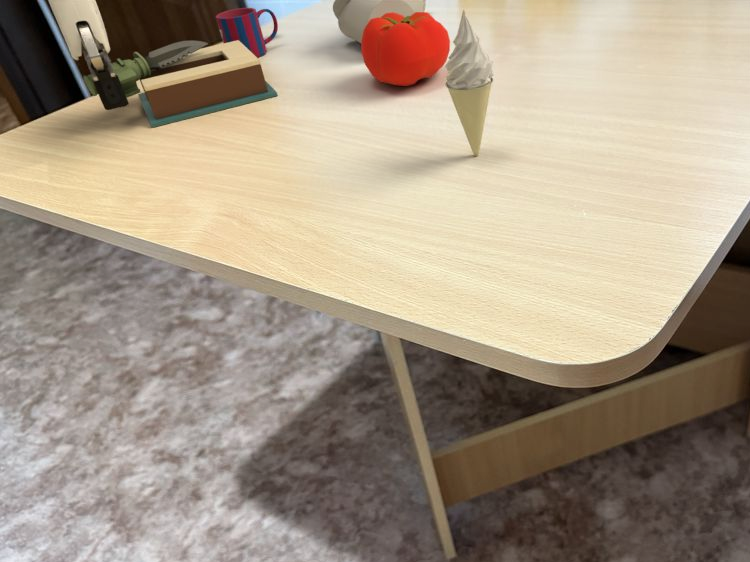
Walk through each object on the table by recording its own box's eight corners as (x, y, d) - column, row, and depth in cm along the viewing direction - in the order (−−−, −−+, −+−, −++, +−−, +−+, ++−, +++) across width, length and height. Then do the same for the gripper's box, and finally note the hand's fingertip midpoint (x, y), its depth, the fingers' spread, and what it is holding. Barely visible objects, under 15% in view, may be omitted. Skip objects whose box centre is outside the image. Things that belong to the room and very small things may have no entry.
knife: (74, 63, 94) (95, 88, 93) (196, 20, 102) (216, 43, 101) (81, 84, 97) (101, 109, 96) (198, 41, 105) (218, 64, 105)
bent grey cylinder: (315, 33, 121) (359, 56, 107) (314, -36, 116) (360, -20, 101) (406, 34, 129) (458, 56, 115) (409, -30, 124) (464, -15, 110)
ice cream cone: (484, 167, 74) (470, 17, 65) (445, 161, 76) (426, 15, 67) (507, 149, 77) (497, 3, 68) (469, 143, 80) (454, 2, 70)
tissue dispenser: (151, 128, 95) (136, 90, 92) (139, 97, 107) (125, 63, 104) (277, 95, 100) (268, 59, 97) (253, 70, 112) (243, 37, 109)
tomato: (471, 81, 97) (465, 13, 91) (388, 103, 93) (376, 34, 88) (432, 59, 107) (424, -3, 101) (355, 78, 103) (343, 14, 98)
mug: (224, 56, 121) (211, 14, 117) (278, 42, 124) (267, 1, 120) (234, 64, 116) (221, 20, 112) (290, 50, 119) (279, 7, 115)
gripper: (25, -45, 92) (85, 92, 103) (22, -28, 80) (90, 125, 91) (84, -55, 94) (137, 80, 105) (90, -40, 82) (149, 111, 93)
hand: (115, 99), depth 98 cm, fingers closed on knife, 5 cm apart
